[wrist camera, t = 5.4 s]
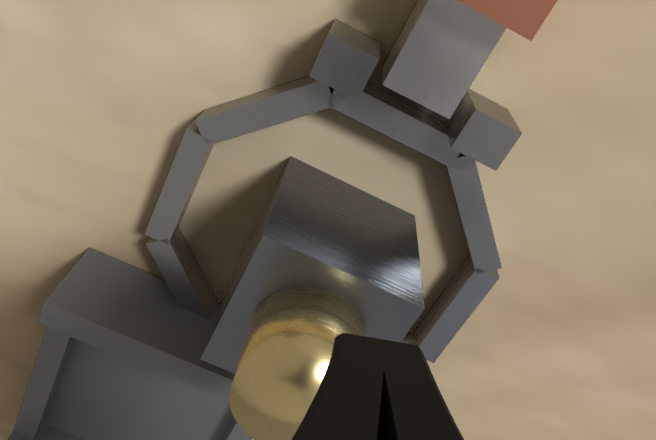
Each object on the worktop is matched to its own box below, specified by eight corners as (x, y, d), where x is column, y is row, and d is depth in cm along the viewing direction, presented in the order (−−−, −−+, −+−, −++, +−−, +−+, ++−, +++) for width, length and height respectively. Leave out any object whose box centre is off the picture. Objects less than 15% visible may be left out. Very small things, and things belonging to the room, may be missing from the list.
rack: (298, 338, 22) (286, 402, 19) (214, 477, 26) (194, 547, 23) (89, 247, 21) (43, 301, 18) (34, 407, 25) (-11, 472, 22)
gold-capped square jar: (414, 215, 19) (432, 379, 13) (352, 312, 21) (339, 497, 15) (290, 155, 19) (242, 296, 12) (238, 261, 21) (172, 431, 14)
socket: (579, 147, 18) (601, 174, 16) (387, 402, 23) (387, 444, 21) (252, -25, 16) (236, -16, 15) (126, 291, 22) (103, 326, 20)
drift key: (548, -46, 16) (580, -35, 13) (455, 105, 18) (467, 139, 15) (454, -101, 15) (468, -100, 13) (369, 61, 17) (367, 88, 15)
